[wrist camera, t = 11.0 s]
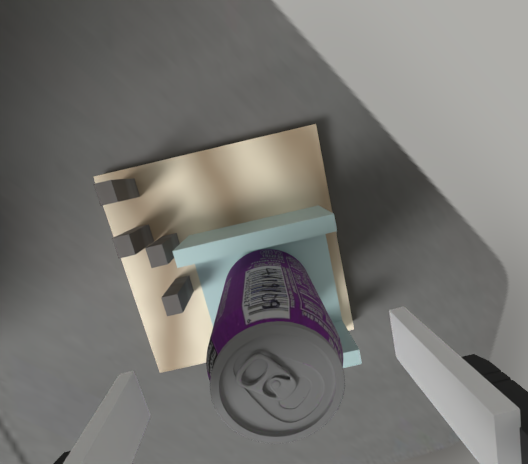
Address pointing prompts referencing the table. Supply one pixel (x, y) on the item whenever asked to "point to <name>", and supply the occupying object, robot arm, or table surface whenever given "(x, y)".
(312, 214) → the end holder
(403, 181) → the table surface
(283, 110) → the table surface
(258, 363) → the beverage can
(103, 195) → the board
